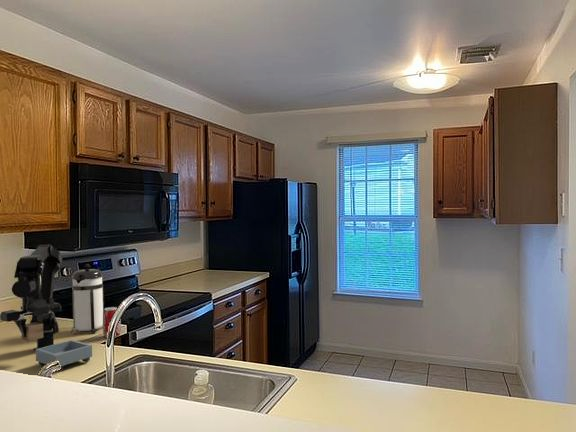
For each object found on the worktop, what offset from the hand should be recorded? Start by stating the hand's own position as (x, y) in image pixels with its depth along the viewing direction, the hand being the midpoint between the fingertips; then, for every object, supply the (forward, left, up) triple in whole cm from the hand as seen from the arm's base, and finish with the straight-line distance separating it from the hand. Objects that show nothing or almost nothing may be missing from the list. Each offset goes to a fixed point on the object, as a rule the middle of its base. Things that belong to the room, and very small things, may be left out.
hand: (32, 335), depth 160 cm
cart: (+12, +5, -10) cm, 16 cm away
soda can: (-3, +34, -10) cm, 36 cm away
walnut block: (0, 0, -1) cm, 1 cm away
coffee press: (-21, +35, -10) cm, 42 cm away
